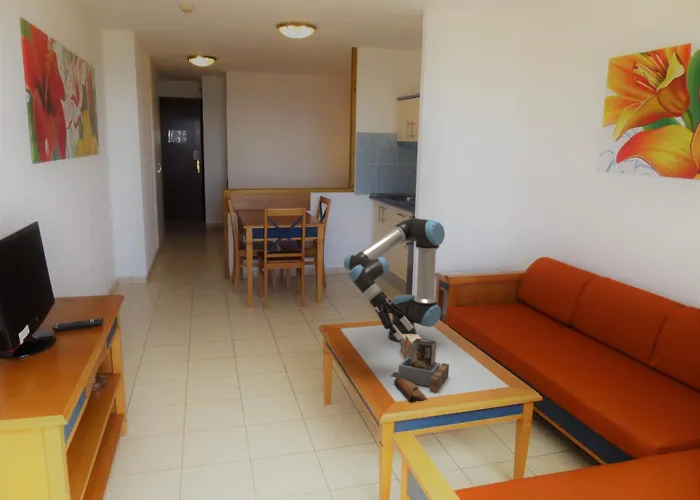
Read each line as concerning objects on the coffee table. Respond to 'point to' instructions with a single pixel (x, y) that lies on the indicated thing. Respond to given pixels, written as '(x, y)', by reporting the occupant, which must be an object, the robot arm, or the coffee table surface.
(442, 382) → the walnut backstop
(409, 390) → the sunglasses case
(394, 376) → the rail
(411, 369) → the box
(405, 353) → the stack of blocks
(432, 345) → the coffee box
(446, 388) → the coffee table surface
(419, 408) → the coffee table surface
